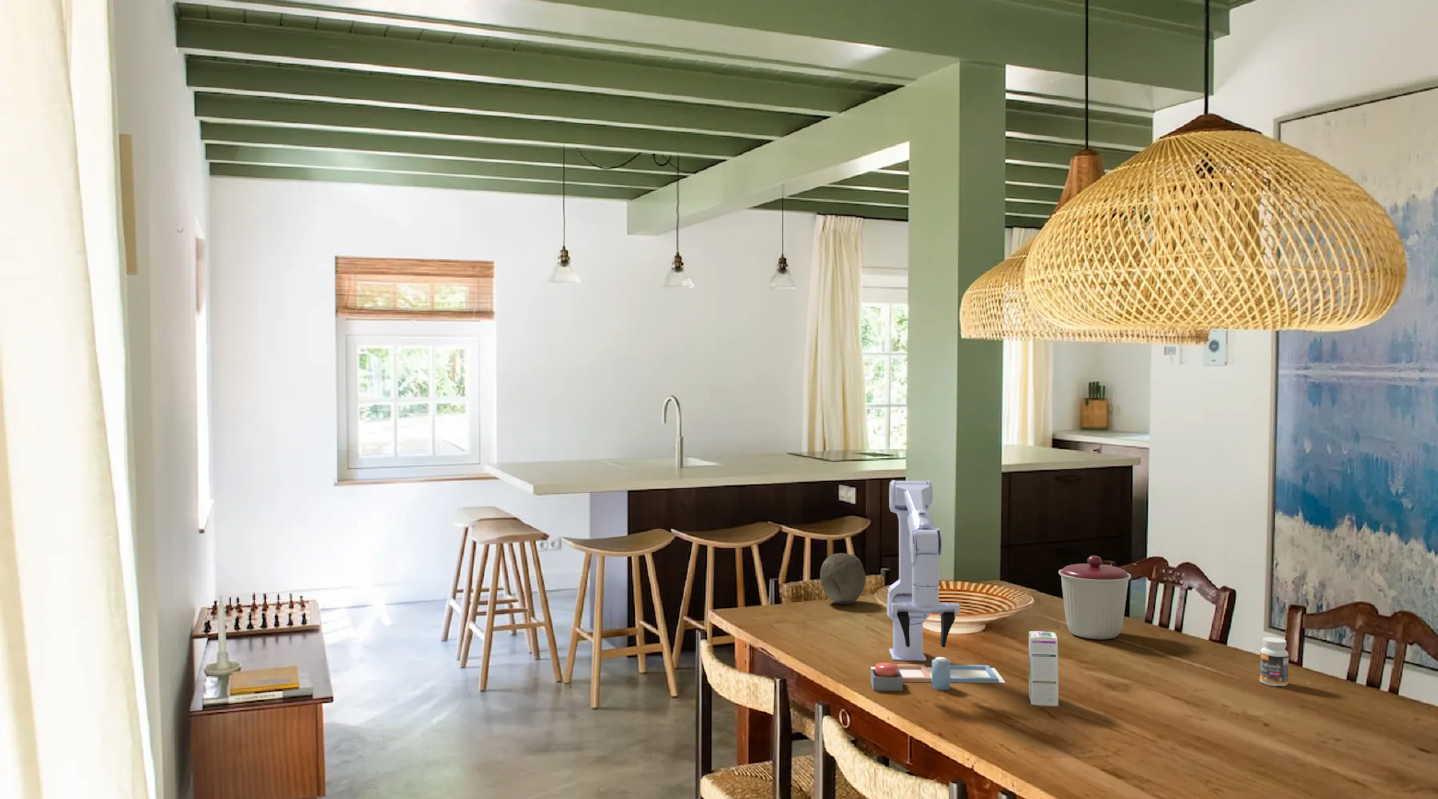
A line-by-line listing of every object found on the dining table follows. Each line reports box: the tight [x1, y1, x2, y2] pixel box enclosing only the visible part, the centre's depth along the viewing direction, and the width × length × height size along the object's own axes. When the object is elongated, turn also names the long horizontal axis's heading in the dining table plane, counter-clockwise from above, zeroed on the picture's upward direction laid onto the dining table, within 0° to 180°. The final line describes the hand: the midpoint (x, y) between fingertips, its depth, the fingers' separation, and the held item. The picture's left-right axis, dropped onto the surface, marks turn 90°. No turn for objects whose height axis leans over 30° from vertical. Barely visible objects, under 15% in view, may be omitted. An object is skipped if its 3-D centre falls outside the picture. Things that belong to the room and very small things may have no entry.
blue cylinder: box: [931, 656, 951, 691], centre depth 236 cm, size 4×4×7 cm
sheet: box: [870, 666, 1006, 684], centre depth 246 cm, size 12×29×1 cm, turn 88°
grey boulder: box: [819, 552, 867, 605], centre depth 321 cm, size 14×14×15 cm
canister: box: [1058, 555, 1132, 640], centre depth 282 cm, size 18×18×21 cm
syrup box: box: [1028, 630, 1059, 707], centre depth 226 cm, size 6×6×14 cm
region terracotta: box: [896, 663, 932, 683], centre depth 246 cm, size 11×11×1 cm
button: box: [874, 662, 898, 677], centre depth 237 cm, size 5×5×2 cm
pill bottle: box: [1259, 636, 1290, 687], centre depth 239 cm, size 6×6×10 cm
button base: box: [869, 668, 904, 692], centre depth 237 cm, size 6×6×3 cm
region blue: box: [950, 664, 999, 683], centre depth 246 cm, size 11×11×1 cm
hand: (925, 646), depth 233 cm, fingers open, 7 cm apart
